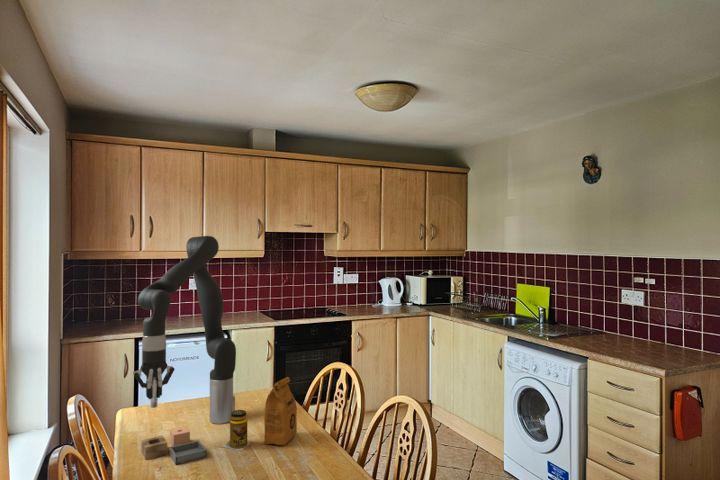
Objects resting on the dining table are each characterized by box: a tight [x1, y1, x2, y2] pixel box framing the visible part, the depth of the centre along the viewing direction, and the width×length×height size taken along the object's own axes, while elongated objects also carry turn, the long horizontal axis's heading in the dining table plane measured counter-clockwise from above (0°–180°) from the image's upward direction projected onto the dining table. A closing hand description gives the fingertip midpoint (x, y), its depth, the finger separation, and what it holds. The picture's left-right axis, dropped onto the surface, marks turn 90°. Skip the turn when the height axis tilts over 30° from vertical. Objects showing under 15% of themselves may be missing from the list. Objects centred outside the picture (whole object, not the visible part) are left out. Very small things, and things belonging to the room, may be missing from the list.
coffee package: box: [263, 376, 298, 446], centre depth 178 cm, size 10×12×22 cm
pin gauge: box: [150, 377, 159, 409], centre depth 167 cm, size 2×2×10 cm
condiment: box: [221, 409, 252, 451], centre depth 174 cm, size 7×8×12 cm
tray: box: [168, 440, 207, 466], centre depth 165 cm, size 10×9×2 cm
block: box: [169, 426, 191, 447], centre depth 174 cm, size 6×6×5 cm
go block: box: [140, 435, 168, 460], centre depth 167 cm, size 7×7×4 cm
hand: (154, 397), depth 167 cm, fingers closed on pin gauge, 2 cm apart
